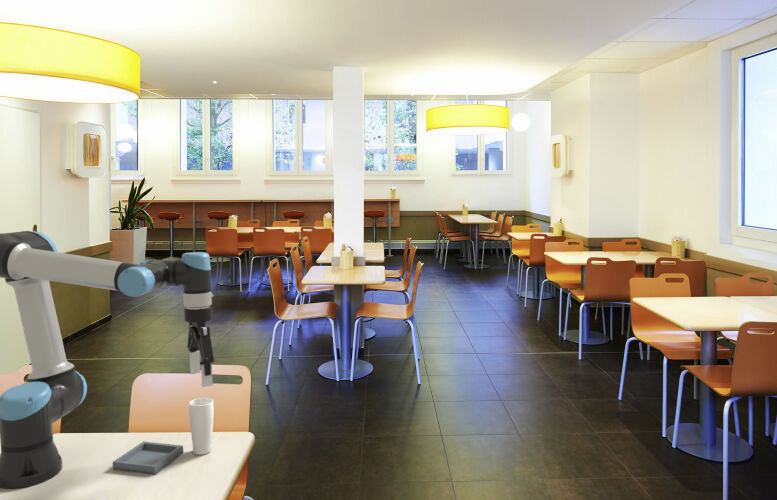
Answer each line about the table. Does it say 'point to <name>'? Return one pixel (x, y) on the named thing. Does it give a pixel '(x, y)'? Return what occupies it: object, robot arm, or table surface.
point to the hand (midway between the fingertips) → (201, 379)
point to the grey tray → (148, 457)
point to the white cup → (201, 424)
